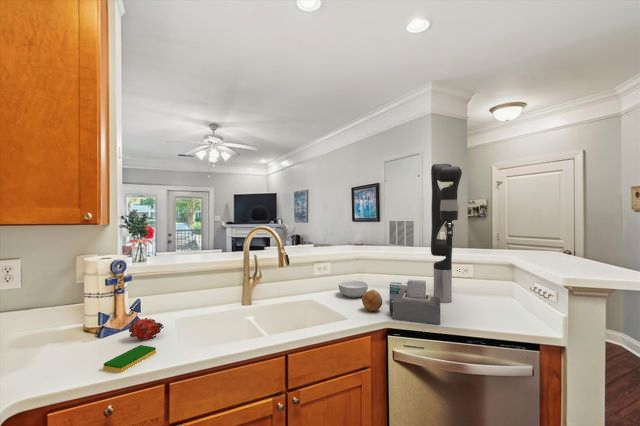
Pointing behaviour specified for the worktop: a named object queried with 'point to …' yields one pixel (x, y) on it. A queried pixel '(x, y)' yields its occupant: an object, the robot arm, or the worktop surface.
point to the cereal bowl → (353, 288)
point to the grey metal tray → (416, 309)
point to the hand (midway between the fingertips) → (448, 244)
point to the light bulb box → (397, 289)
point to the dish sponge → (129, 358)
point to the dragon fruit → (145, 328)
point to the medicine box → (416, 289)
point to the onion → (372, 300)
